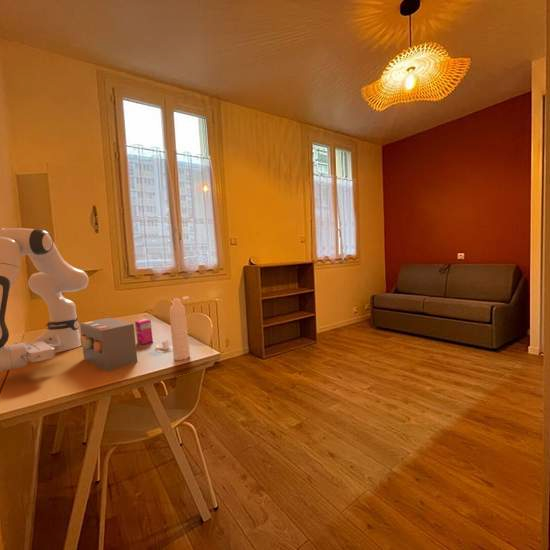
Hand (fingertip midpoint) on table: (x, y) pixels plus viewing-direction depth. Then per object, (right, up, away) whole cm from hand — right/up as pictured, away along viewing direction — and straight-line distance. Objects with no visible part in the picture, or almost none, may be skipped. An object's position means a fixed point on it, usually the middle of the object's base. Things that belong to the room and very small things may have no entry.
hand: (62, 345), depth 125 cm
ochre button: (+6, -1, +6) cm, 9 cm away
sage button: (+10, -2, 0) cm, 11 cm away
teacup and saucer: (+35, -6, +20) cm, 41 cm away
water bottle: (+48, -6, +4) cm, 48 cm away
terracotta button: (+17, -1, -4) cm, 18 cm away
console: (+16, -8, +6) cm, 19 cm away
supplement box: (+21, -6, +30) cm, 37 cm away
